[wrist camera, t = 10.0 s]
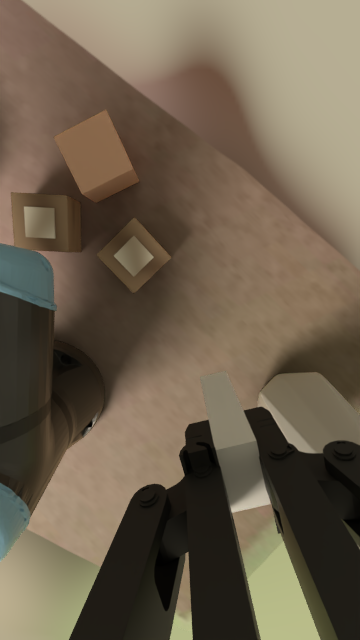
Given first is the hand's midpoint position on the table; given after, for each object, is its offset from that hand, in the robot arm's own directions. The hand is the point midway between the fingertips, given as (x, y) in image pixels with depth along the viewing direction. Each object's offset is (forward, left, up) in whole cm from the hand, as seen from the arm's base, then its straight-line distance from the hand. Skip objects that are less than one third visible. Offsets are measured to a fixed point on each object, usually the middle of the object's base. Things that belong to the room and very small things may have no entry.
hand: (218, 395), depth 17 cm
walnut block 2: (-5, +9, -25) cm, 27 cm away
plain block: (-6, +20, -25) cm, 32 cm away
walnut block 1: (-14, +15, -25) cm, 32 cm away
